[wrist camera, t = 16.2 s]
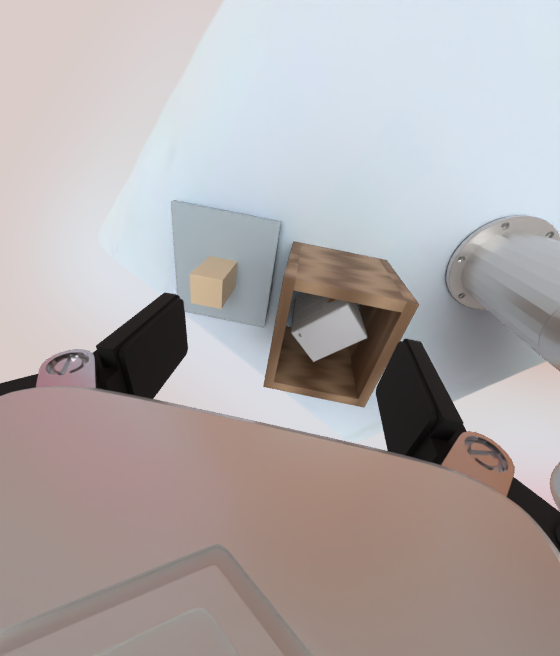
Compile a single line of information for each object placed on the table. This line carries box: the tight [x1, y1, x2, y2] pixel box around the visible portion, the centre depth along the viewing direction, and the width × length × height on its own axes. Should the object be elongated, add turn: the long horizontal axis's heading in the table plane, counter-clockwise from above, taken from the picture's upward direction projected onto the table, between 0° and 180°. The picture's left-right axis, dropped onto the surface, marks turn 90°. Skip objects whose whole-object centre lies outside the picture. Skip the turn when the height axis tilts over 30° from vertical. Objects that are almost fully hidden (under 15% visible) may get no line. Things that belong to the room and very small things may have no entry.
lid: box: [171, 200, 281, 327], centre depth 36 cm, size 14×16×9 cm
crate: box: [264, 241, 419, 407], centre depth 35 cm, size 13×15×14 cm
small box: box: [291, 293, 367, 362], centre depth 36 cm, size 8×6×10 cm
